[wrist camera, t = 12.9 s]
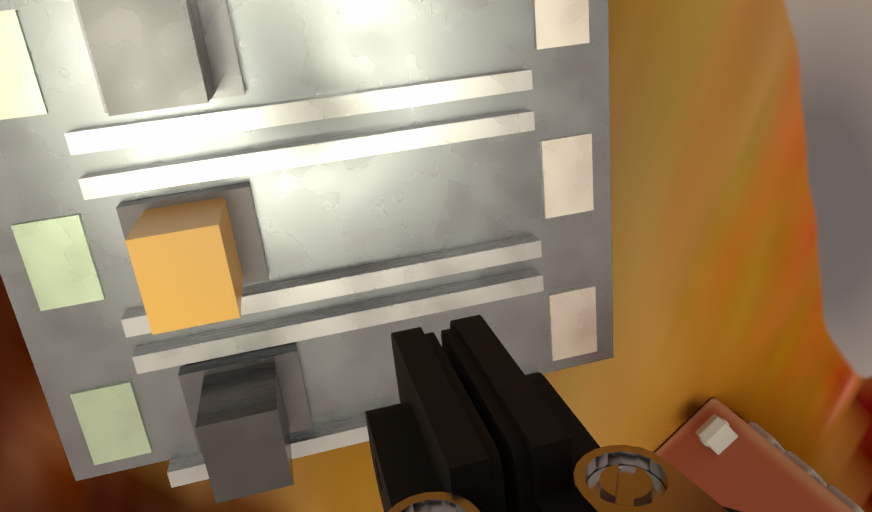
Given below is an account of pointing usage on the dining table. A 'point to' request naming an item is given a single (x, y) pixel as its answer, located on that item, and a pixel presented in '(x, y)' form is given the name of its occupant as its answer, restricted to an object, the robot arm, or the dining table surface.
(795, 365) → the dining table surface
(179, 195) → the block
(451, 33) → the breaker board
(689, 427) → the control panel
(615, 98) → the dining table surface
